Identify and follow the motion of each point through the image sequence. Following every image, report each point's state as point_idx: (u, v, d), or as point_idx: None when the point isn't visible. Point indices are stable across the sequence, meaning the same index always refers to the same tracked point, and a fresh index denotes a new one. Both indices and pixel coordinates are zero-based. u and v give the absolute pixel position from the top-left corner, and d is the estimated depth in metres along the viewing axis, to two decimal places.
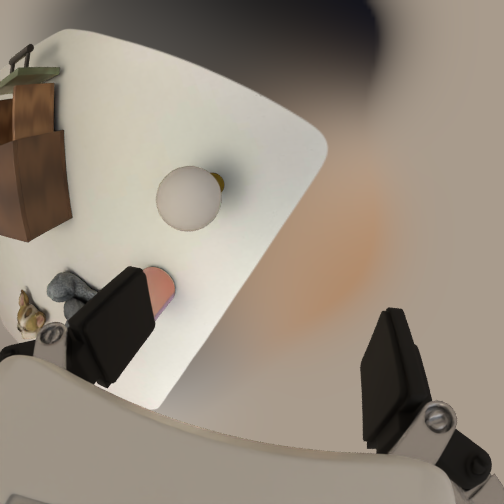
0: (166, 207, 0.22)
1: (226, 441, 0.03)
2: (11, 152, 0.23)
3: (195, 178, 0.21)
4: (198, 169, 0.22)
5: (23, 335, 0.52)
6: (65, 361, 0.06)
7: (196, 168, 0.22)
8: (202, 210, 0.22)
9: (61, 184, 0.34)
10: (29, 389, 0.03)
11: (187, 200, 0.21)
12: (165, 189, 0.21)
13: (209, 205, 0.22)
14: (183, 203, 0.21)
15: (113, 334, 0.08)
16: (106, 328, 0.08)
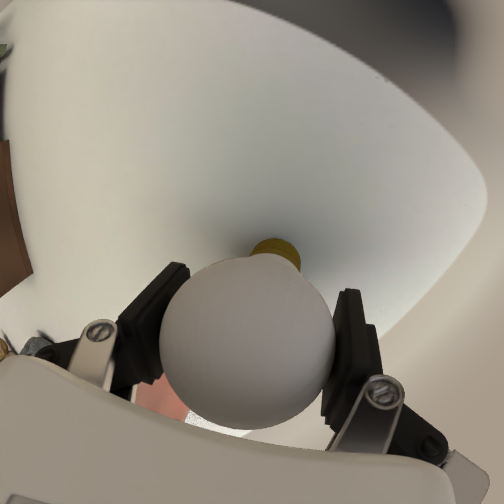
0: (197, 407, 0.07)
1: (226, 441, 0.03)
2: None
3: (291, 332, 0.06)
4: (286, 283, 0.07)
5: None
6: (107, 365, 0.06)
7: (280, 280, 0.07)
8: (304, 406, 0.07)
9: (10, 226, 0.19)
10: (29, 388, 0.03)
11: (270, 403, 0.06)
12: (187, 361, 0.06)
13: (320, 389, 0.07)
14: (256, 411, 0.06)
15: None
16: (156, 323, 0.08)
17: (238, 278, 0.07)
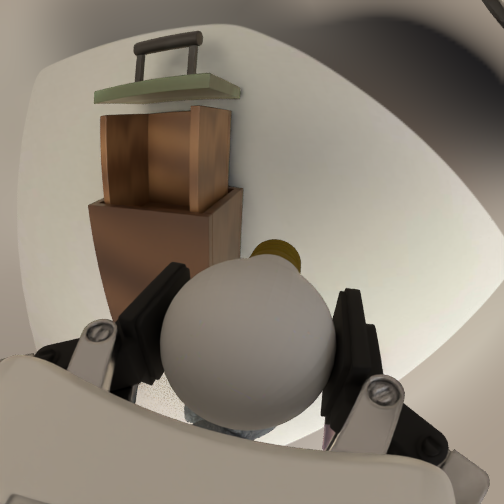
0: (198, 408, 0.07)
1: (226, 441, 0.03)
2: (201, 234, 0.21)
3: (291, 333, 0.07)
4: (286, 284, 0.07)
5: None
6: (107, 365, 0.06)
7: (280, 281, 0.07)
8: (305, 407, 0.07)
9: None
10: (29, 389, 0.03)
11: (271, 404, 0.06)
12: (188, 363, 0.06)
13: (320, 390, 0.07)
14: (257, 411, 0.06)
15: None
16: (156, 323, 0.08)
17: (239, 280, 0.07)
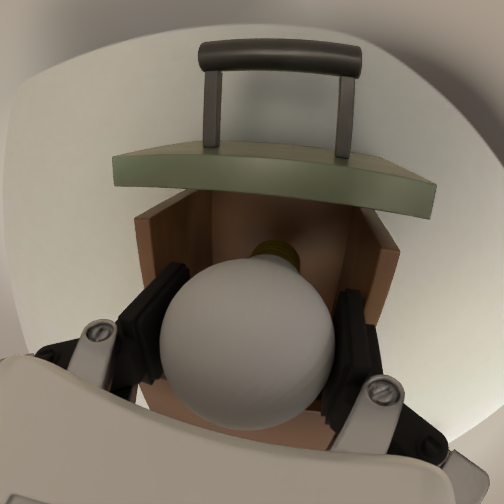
0: (197, 408, 0.07)
1: (226, 441, 0.03)
2: None
3: (290, 333, 0.07)
4: (285, 284, 0.07)
5: None
6: (107, 365, 0.06)
7: (280, 281, 0.07)
8: (304, 407, 0.07)
9: None
10: (29, 389, 0.03)
11: (269, 404, 0.06)
12: (188, 363, 0.06)
13: (320, 390, 0.07)
14: (256, 411, 0.06)
15: None
16: (156, 323, 0.08)
17: (238, 280, 0.07)
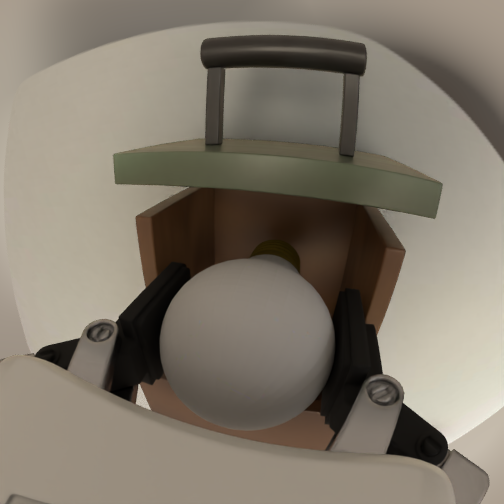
0: (197, 408, 0.07)
1: (226, 441, 0.03)
2: None
3: (290, 333, 0.07)
4: (286, 284, 0.07)
5: None
6: (108, 365, 0.06)
7: (280, 281, 0.07)
8: (304, 407, 0.07)
9: None
10: (29, 389, 0.03)
11: (269, 404, 0.06)
12: (188, 363, 0.06)
13: (320, 390, 0.07)
14: (255, 412, 0.06)
15: None
16: (157, 323, 0.08)
17: (238, 280, 0.07)
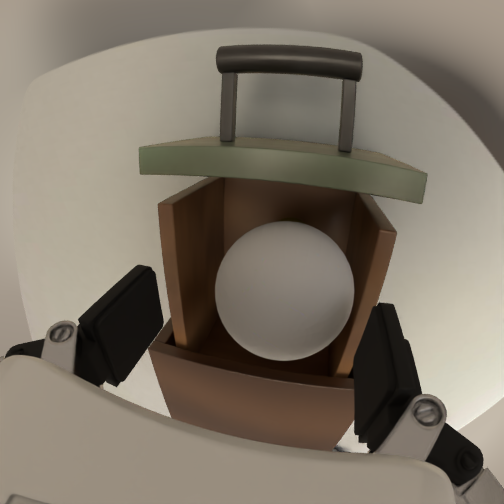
0: (258, 334, 0.09)
1: (226, 441, 0.03)
2: (353, 405, 0.13)
3: (328, 265, 0.09)
4: (318, 234, 0.10)
5: None
6: (74, 361, 0.06)
7: (314, 232, 0.10)
8: (337, 331, 0.10)
9: None
10: (29, 389, 0.03)
11: (317, 320, 0.09)
12: (254, 291, 0.09)
13: (347, 318, 0.10)
14: (307, 328, 0.09)
15: (124, 332, 0.09)
16: (117, 326, 0.08)
17: (286, 230, 0.10)
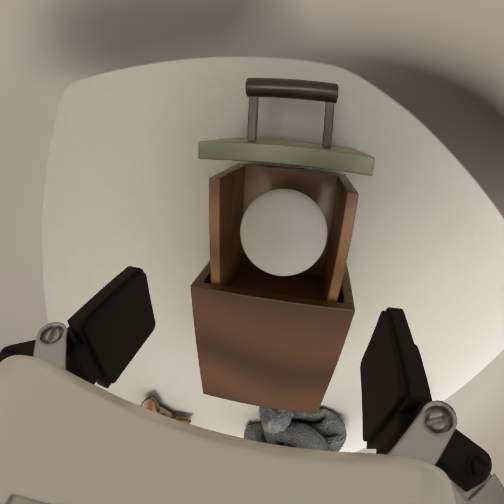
0: (265, 248, 0.16)
1: (226, 441, 0.03)
2: (342, 324, 0.20)
3: (307, 209, 0.16)
4: (303, 195, 0.17)
5: None
6: (65, 361, 0.06)
7: (300, 193, 0.17)
8: (315, 252, 0.17)
9: None
10: (30, 389, 0.03)
11: (300, 240, 0.16)
12: (264, 222, 0.16)
13: (321, 245, 0.17)
14: (294, 244, 0.16)
15: (113, 333, 0.08)
16: (106, 328, 0.08)
17: (283, 191, 0.17)
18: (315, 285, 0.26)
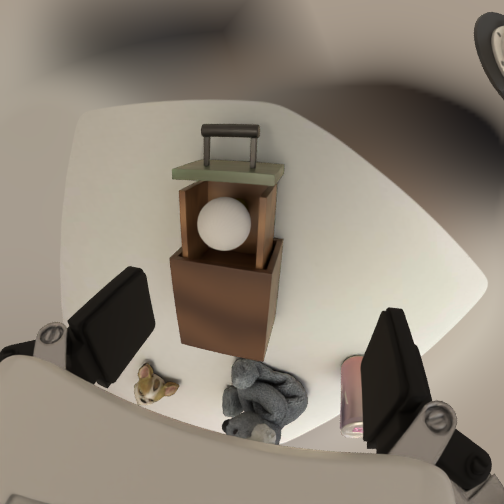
0: (208, 233, 0.28)
1: (226, 441, 0.03)
2: (265, 284, 0.31)
3: (232, 209, 0.28)
4: (233, 200, 0.29)
5: (140, 402, 0.60)
6: (65, 361, 0.06)
7: (231, 200, 0.29)
8: (238, 235, 0.28)
9: None
10: (29, 389, 0.03)
11: (227, 227, 0.27)
12: (207, 218, 0.28)
13: (243, 231, 0.28)
14: (224, 230, 0.27)
15: (114, 333, 0.08)
16: (106, 328, 0.08)
17: (220, 199, 0.28)
18: None
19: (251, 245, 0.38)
